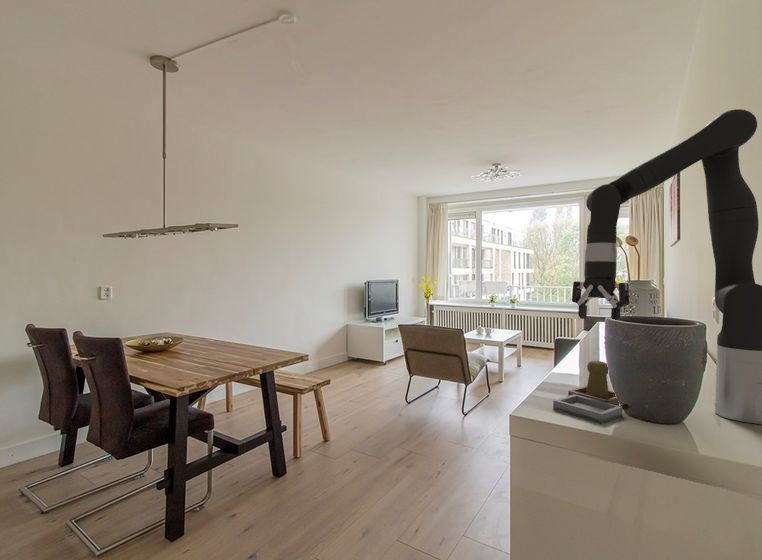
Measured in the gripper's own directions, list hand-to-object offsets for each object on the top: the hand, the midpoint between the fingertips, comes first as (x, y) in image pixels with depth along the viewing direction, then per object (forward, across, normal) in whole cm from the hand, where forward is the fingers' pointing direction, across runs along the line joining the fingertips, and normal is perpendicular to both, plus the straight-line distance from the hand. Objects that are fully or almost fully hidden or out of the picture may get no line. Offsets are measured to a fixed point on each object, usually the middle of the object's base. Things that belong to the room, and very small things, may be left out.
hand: (598, 320), depth 107 cm
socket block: (+22, 0, 0) cm, 22 cm away
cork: (+22, 0, 0) cm, 22 cm away
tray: (+22, -4, +11) cm, 25 cm away
